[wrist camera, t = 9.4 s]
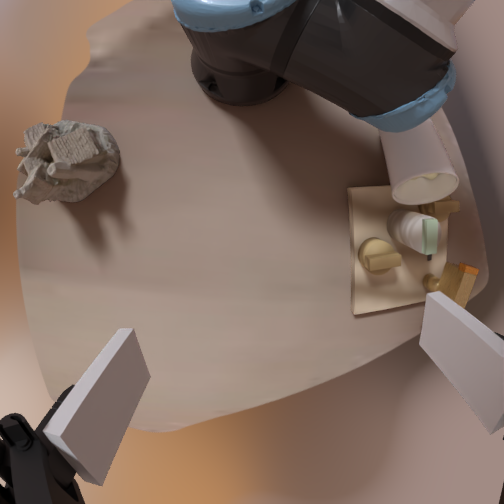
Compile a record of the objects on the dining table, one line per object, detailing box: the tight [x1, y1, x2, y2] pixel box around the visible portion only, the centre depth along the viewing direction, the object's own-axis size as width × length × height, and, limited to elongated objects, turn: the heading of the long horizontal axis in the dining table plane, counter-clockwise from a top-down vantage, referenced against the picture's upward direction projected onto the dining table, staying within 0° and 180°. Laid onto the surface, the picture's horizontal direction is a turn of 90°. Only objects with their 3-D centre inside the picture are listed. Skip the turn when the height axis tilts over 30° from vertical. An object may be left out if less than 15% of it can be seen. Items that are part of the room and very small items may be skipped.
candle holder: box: [378, 118, 459, 205], centre depth 33 cm, size 10×10×12 cm
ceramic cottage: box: [13, 120, 120, 205], centre depth 33 cm, size 16×16×15 cm
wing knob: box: [423, 262, 479, 309], centre depth 37 cm, size 3×10×10 cm, turn 168°
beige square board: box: [347, 185, 459, 315], centre depth 37 cm, size 20×18×11 cm
